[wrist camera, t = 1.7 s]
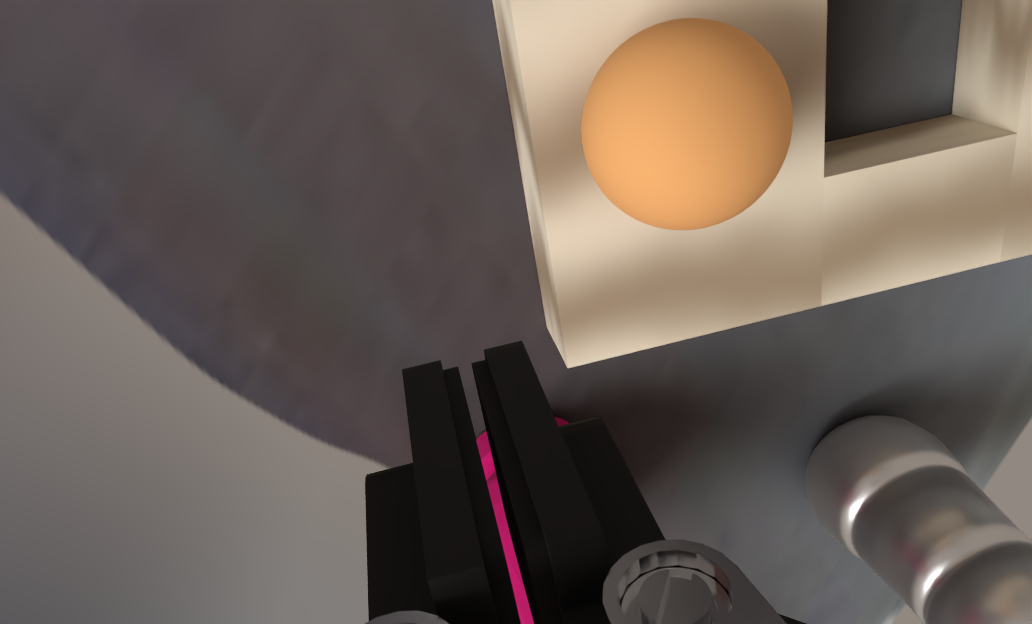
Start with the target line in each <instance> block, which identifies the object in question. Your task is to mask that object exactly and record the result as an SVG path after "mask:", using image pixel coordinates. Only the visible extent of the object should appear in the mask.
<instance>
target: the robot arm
mask: <svg viewBox="0 0 1032 624" xmlns="http://www.w3.org/2000/svg"><path fill="white" fill-rule="evenodd" d="M484 354H485V360H483V361H479V362H475V363H472V369H473V373H474V378H475V382H476V387H477V391H478V396H479V400H480V404H481V409H482V413H483V418H484V422H485V427H486V431H487V436H488V440H489V445H490V449H491V454H492V458H493V463H494V467H495V471H496V476H497V480H498V485H499V489H500V494H501V498H502V503H503V507H504V512H505V516H506V520H507V524H508V528H509V532H510V536H511V540H512V543H513V547H514V551H515V555H516V558H517V562H518V566H519V570H520V573H521V577H522V581H523V585H524V588H525V592H526V596H527V600H528V603H529V607H530V611H531V615H532V618H533V622H534V624H806V623H803V622H800V621H797V620H794V619H792V618H789V617H786V616H783V615H780V614H778V613H777V612H776V611H775V610H774V608H773V607H772V606H771V605H770V604H769V603H768V601H767V600H766V599H765V598H764V597H763V596H762V594H761V593H760V592H759V591H758V590H757V589H756V587H755V586H754V585H753V584H752V583H751V582H750V580H749V579H748V578H747V577H746V576H745V575H744V573H743V572H742V571H741V570H740V569H739V568H738V566H737V565H735V564H734V563H733V562H732V561H731V560H730V559H728V558H727V557H726V556H725V555H724V554H723V553H721V552H719V551H717V550H715V549H713V548H711V547H708V546H706V545H704V544H701V543H696V542H691V541H686V540H665V538H664V536H663V534H662V532H661V530H660V529H659V527H658V525H657V523H656V521H655V519H654V517H653V515H652V513H651V511H650V509H649V508H648V506H647V504H646V502H645V500H644V498H643V496H642V494H641V492H640V490H639V488H638V487H637V485H636V483H635V481H634V479H633V477H632V475H631V473H630V471H629V469H628V467H627V466H626V464H625V462H624V460H623V458H622V456H621V454H620V452H619V450H618V448H617V446H616V445H615V443H614V441H613V439H612V437H611V435H610V433H609V431H608V429H607V427H606V425H605V424H604V422H603V420H602V419H601V418H600V417H599V416H596V417H592V418H588V419H584V420H580V421H576V422H572V423H568V424H564V425H561V426H558V424H557V422H556V419H555V417H554V415H553V412H552V410H551V408H550V405H549V403H548V401H547V398H546V396H545V394H544V391H543V389H542V387H541V384H540V382H539V380H538V377H537V375H536V373H535V370H534V368H533V365H532V363H531V361H530V358H529V356H528V354H527V351H526V349H525V347H524V344H523V342H522V341H518V342H514V343H510V344H506V345H502V346H497V347H493V348H489V349H485V350H484ZM402 372H403V381H404V389H405V398H406V406H407V415H408V423H409V431H410V440H411V448H412V457H413V463H410V464H407V465H403V466H399V467H395V468H391V469H387V470H383V471H379V472H375V473H372V474H367V476H366V481H365V494H366V529H367V530H366V531H367V567H368V568H367V570H368V607H369V622H367V623H365V624H521V622H520V617H519V613H518V609H517V604H516V600H515V596H514V591H513V587H512V583H511V579H510V574H509V570H508V566H507V562H506V557H505V553H504V549H503V545H502V541H501V537H500V533H499V529H498V525H497V521H496V517H495V513H494V509H493V505H492V501H491V497H490V493H489V489H488V485H487V481H486V477H485V473H484V469H483V465H482V461H481V457H480V453H479V449H478V445H477V441H476V437H475V433H474V429H473V425H472V421H471V417H470V413H469V409H468V405H467V401H466V397H465V393H464V389H463V385H462V381H461V377H460V373H459V369H458V367H454V368H450V369H446V370H443V368H442V364H441V360H439V361H435V362H431V363H427V364H423V365H419V366H415V367H410V368H406V369H403V370H402Z"/></svg>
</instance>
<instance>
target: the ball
mask: <svg viewBox="0 0 1032 624" xmlns="http://www.w3.org/2000/svg"><path fill="white" fill-rule="evenodd" d="M792 127H793V113H792V103H791V98H790V93H789V89H788V86H787V83H786V80H785V78H784V76H783V74H782V72H781V70H780V68H779V66H778V65H777V63H776V62H775V60H774V59H773V57H772V56H771V55H770V53H769V52H768V51H767V50H766V49H765V48H764V47H763V46H762V45H761V44H760V43H759V42H757V41H756V40H755V39H754V38H752V37H751V36H750V35H748V34H747V33H745V32H743V31H741V30H739V29H738V28H736V27H733V26H731V25H728V24H725V23H722V22H719V21H716V20H710V19H704V18H681V19H674V20H669V21H666V22H662V23H658V24H655V25H653V26H651V27H648V28H646V29H644V30H642V31H640V32H638V33H636V34H635V35H633V36H631V37H630V38H629V39H627V40H626V41H625V42H624V43H622V44H621V45H620V46H619V47H618V48H617V49H616V50H615V51H614V52H613V53H612V54H611V55H610V56H609V57H608V58H607V60H606V61H605V62H604V64H603V65H602V66H601V68H600V69H599V71H598V73H597V74H596V76H595V78H594V80H593V82H592V84H591V86H590V88H589V91H588V94H587V97H586V100H585V103H584V108H583V113H582V123H581V136H582V145H583V150H584V155H585V159H586V162H587V165H588V168H589V170H590V172H591V174H592V176H593V178H594V180H595V182H596V183H597V185H598V186H599V188H600V189H601V190H602V192H603V193H604V195H605V196H606V197H607V198H608V199H609V200H610V201H611V202H612V203H613V204H614V205H615V206H616V207H618V208H619V209H620V210H621V211H623V212H624V213H625V214H627V215H629V216H630V217H632V218H634V219H636V220H638V221H640V222H643V223H645V224H648V225H651V226H653V227H658V228H662V229H669V230H696V229H702V228H706V227H710V226H713V225H717V224H720V223H722V222H724V221H727V220H729V219H731V218H733V217H735V216H736V215H738V214H740V213H742V212H743V211H744V210H746V209H747V208H748V207H750V206H751V205H752V204H753V203H754V202H756V201H757V200H758V199H759V198H760V197H761V196H762V195H763V193H764V192H765V191H766V190H767V189H768V188H769V186H770V185H771V184H772V182H773V181H774V179H775V178H776V176H777V174H778V173H779V171H780V169H781V167H782V165H783V163H784V160H785V158H786V155H787V152H788V149H789V146H790V141H791V136H792Z"/></svg>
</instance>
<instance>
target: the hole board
mask: <svg viewBox="0 0 1032 624" xmlns="http://www.w3.org/2000/svg"><path fill="white" fill-rule="evenodd" d="M492 1H493V7H494V13H495V19H496V25H497V31H498V37H499V43H500V49H501V55H502V61H503V67H504V73H505V79H506V85H507V91H508V97H509V103H510V109H511V115H512V121H513V127H514V133H515V139H516V145H517V151H518V157H519V163H520V169H521V175H522V181H523V187H524V193H525V199H526V205H527V211H528V217H529V223H530V229H531V235H532V241H533V247H534V252H535V258H536V264H537V270H538V276H539V282H540V288H541V294H542V300H543V306H544V312H545V318H546V324H547V328H548V330H549V332H550V334H551V336H552V338H553V340H554V342H555V344H556V346H557V348H558V350H559V352H560V354H561V356H562V358H563V360H564V362H565V364H566V366H567V368H571V367H575V366H579V365H583V364H587V363H591V362H596V361H600V360H604V359H608V358H612V357H616V356H620V355H624V354H628V353H632V352H636V351H640V350H644V349H648V348H652V347H656V346H661V345H665V344H669V343H673V342H677V341H681V340H685V339H689V338H693V337H697V336H701V335H705V334H709V333H713V332H717V331H721V330H726V329H730V328H734V327H738V326H742V325H746V324H750V323H754V322H758V321H762V320H766V319H770V318H774V317H778V316H782V315H787V314H791V313H795V312H799V311H803V310H807V309H811V308H815V307H819V306H823V305H827V304H831V303H835V302H839V301H843V300H847V299H852V298H856V297H860V296H864V295H868V294H872V293H876V292H880V291H884V290H888V289H892V288H896V287H900V286H904V285H908V284H912V283H917V282H921V281H925V280H929V279H933V278H937V277H941V276H945V275H949V274H953V273H957V272H961V271H965V270H969V269H973V268H978V267H982V266H986V265H990V264H994V263H998V262H1002V261H1006V260H1010V259H1014V258H1018V257H1022V256H1026V255H1030V254H1032V0H963V1H962V12H961V23H960V33H959V44H958V54H957V65H956V75H955V86H954V97H953V107H952V114H950V115H946V116H941V117H937V118H932V119H928V120H923V121H919V122H915V123H910V124H906V125H901V126H897V127H892V128H888V129H883V130H879V131H874V132H870V133H866V134H861V135H857V136H852V137H848V138H843V139H839V140H834V141H830V142H826V143H825V92H826V40H827V0H492ZM681 18H704V19H710V20H716V21H719V22H722V23H725V24H728V25H731V26H733V27H736V28H738V29H739V30H741V31H743V32H745V33H747V34H748V35H750V36H751V37H752V38H754V39H755V40H756V41H757V42H759V43H760V44H761V45H762V46H763V47H764V48H765V49H766V50H767V51H768V52H769V53H770V55H771V56H772V57H773V59H774V60H775V62H776V63H777V65H778V66H779V68H780V70H781V72H782V74H783V76H784V78H785V80H786V83H787V86H788V89H789V93H790V98H791V103H792V113H793V127H792V136H791V141H790V146H789V149H788V152H787V155H786V158H785V160H784V163H783V165H782V167H781V169H780V171H779V173H778V174H777V176H776V178H775V179H774V181H773V182H772V184H771V185H770V186H769V188H768V189H767V190H766V191H765V192H764V193H763V195H762V196H761V197H760V198H759V199H758V200H757V201H756V202H754V203H753V204H752V205H751V206H750V207H748V208H747V209H746V210H744V211H743V212H742V213H740V214H738V215H736V216H735V217H733V218H731V219H729V220H727V221H724V222H722V223H720V224H717V225H713V226H710V227H706V228H702V229H696V230H669V229H662V228H658V227H653V226H651V225H648V224H645V223H643V222H640V221H638V220H636V219H634V218H632V217H630V216H629V215H627V214H625V213H624V212H623V211H621V210H620V209H619V208H618V207H616V206H615V205H614V204H613V203H612V202H611V201H610V200H609V199H608V198H607V197H606V196H605V195H604V193H603V192H602V190H601V189H600V188H599V186H598V185H597V183H596V182H595V180H594V178H593V176H592V174H591V172H590V170H589V168H588V165H587V162H586V159H585V155H584V150H583V145H582V136H581V123H582V113H583V108H584V103H585V100H586V97H587V94H588V91H589V88H590V86H591V84H592V82H593V80H594V78H595V76H596V74H597V73H598V71H599V69H600V68H601V66H602V65H603V64H604V62H605V61H606V60H607V58H608V57H609V56H610V55H611V54H612V53H613V52H614V51H615V50H616V49H617V48H618V47H619V46H620V45H621V44H622V43H624V42H625V41H626V40H627V39H629V38H630V37H631V36H633V35H635V34H636V33H638V32H640V31H642V30H644V29H646V28H648V27H651V26H653V25H655V24H658V23H662V22H666V21H669V20H674V19H681Z"/></svg>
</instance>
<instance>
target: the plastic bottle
mask: <svg viewBox="0 0 1032 624" xmlns="http://www.w3.org/2000/svg"><path fill="white" fill-rule="evenodd" d="M805 492H806V497H807V499H808V501H809V503H810V505H811V507H812V509H813V511H814V513H815V515H816V517H817V518H818V520H819V522H820V524H821V525H822V526H823V527H824V529H825V530H826V531H827V532H828V533H829V534H831V535H832V536H833V537H834V538H835V539H836V540H837V541H838V542H839V543H840V544H841V545H843V546H844V547H845V548H846V549H847V550H849V551H850V552H851V553H853V554H854V555H855V556H857V557H858V558H860V559H861V560H863V561H864V562H865V563H866V564H867V565H868V566H869V567H870V568H871V569H872V570H873V571H874V572H875V573H876V574H877V575H878V576H879V577H880V578H881V579H882V580H883V581H884V582H885V583H886V584H887V585H888V586H889V587H890V588H891V589H892V590H893V591H894V592H895V593H896V594H897V595H898V596H899V597H900V598H901V599H902V600H903V601H904V602H905V603H906V604H907V605H908V606H909V607H910V608H911V609H912V610H913V612H914V613H915V615H916V616H917V617H918V618H919V620H920V621H921V622H922V624H1032V539H1031V538H1030V537H1029V536H1027V535H1026V534H1025V533H1024V532H1022V531H1021V530H1020V529H1019V528H1018V527H1017V526H1016V525H1015V524H1014V523H1013V522H1012V521H1011V520H1010V519H1009V518H1008V517H1007V516H1006V515H1005V514H1004V513H1003V512H1002V511H1001V510H1000V509H999V508H998V507H997V505H995V503H993V501H992V500H991V499H990V498H989V497H988V496H987V495H986V494H985V493H984V492H983V491H982V490H981V489H980V488H979V487H978V486H977V485H976V484H975V483H974V482H973V481H972V480H971V479H970V477H969V475H968V474H967V472H966V471H965V470H964V468H963V467H962V465H961V464H960V463H959V461H958V460H957V459H956V458H955V456H954V455H953V454H952V453H951V452H950V451H949V450H948V449H947V447H946V446H945V445H944V444H943V443H942V442H941V441H940V440H939V439H938V438H937V437H936V436H934V435H933V434H931V433H930V432H928V431H926V430H924V429H923V428H921V427H919V426H917V425H916V424H914V423H912V422H910V421H908V420H906V419H903V418H900V417H894V416H864V417H859V418H856V419H853V420H850V421H848V422H846V423H844V424H842V425H840V426H838V427H837V428H835V429H834V430H833V431H831V432H830V433H828V434H827V435H826V436H825V437H824V438H823V439H822V440H821V441H820V442H819V444H818V445H817V446H816V447H815V449H814V450H813V452H812V454H811V456H810V458H809V461H808V463H807V467H806V476H805Z"/></svg>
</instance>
